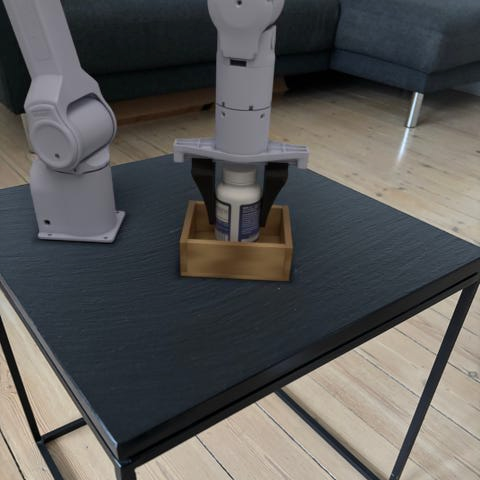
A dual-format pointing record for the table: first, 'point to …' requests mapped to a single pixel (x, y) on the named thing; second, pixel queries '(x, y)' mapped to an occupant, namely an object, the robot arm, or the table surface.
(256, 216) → the pill bottle
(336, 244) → the table surface
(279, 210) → the bin
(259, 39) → the robot arm
